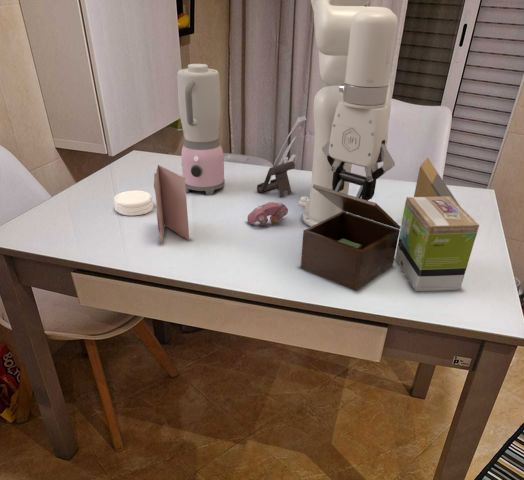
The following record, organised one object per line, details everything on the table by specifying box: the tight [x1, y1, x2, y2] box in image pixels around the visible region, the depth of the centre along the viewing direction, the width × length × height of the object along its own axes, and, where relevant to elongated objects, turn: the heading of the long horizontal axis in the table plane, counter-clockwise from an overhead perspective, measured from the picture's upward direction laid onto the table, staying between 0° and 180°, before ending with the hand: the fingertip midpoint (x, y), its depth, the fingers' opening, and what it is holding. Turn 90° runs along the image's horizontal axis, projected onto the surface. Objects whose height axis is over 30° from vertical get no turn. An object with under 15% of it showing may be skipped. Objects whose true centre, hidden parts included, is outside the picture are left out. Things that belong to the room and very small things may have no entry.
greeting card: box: [153, 164, 190, 245], centre depth 117 cm, size 11×7×15 cm, turn 5°
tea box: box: [394, 196, 480, 292], centre depth 103 cm, size 15×10×15 cm, turn 5°
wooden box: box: [300, 211, 401, 292], centre depth 107 cm, size 15×15×9 cm
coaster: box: [113, 190, 154, 217], centre depth 133 cm, size 10×10×4 cm
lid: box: [313, 171, 401, 230], centre depth 102 cm, size 15×15×5 cm
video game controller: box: [246, 201, 289, 226], centre depth 126 cm, size 10×5×7 cm, turn 118°
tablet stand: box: [256, 160, 296, 198], centre depth 144 cm, size 9×8×8 cm
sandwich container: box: [413, 157, 461, 207], centre depth 125 cm, size 9×15×15 cm, turn 64°
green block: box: [339, 239, 362, 250], centre depth 107 cm, size 5×5×5 cm
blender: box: [176, 63, 226, 196], centre depth 137 cm, size 16×12×32 cm
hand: (352, 194), depth 98 cm, fingers closed on lid, 6 cm apart
